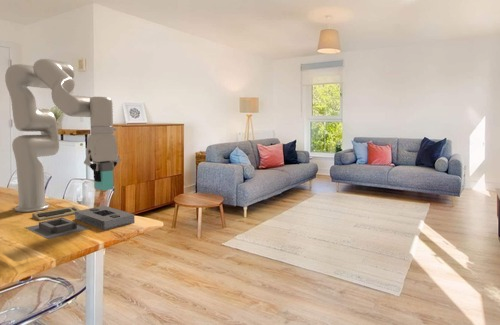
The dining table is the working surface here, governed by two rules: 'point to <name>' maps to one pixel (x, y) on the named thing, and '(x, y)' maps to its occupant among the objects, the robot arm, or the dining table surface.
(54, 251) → the dining table surface
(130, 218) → the port block
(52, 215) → the computer
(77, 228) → the plate
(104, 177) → the plug
